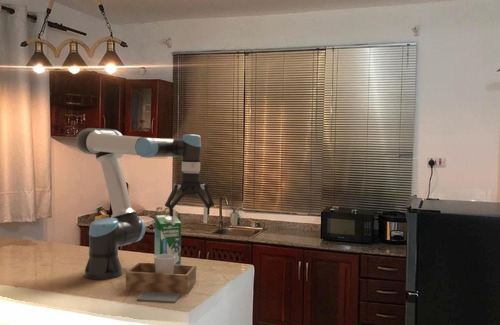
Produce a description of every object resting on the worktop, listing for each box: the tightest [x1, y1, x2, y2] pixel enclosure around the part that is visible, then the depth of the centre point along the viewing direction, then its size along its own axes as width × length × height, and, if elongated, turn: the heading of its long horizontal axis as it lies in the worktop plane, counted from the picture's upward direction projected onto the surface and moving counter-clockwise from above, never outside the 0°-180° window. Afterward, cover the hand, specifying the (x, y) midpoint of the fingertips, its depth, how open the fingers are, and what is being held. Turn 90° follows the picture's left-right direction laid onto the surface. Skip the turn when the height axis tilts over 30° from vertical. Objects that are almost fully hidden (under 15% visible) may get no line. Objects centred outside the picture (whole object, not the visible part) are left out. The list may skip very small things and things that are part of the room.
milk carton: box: [153, 214, 182, 265], centre depth 191 cm, size 9×9×25 cm
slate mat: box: [136, 291, 182, 304], centre depth 161 cm, size 14×8×1 cm, turn 84°
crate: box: [125, 262, 197, 295], centre depth 174 cm, size 24×14×7 cm, turn 84°
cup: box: [155, 254, 175, 274], centre depth 174 cm, size 8×8×12 cm
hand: (189, 223), depth 182 cm, fingers open, 13 cm apart
